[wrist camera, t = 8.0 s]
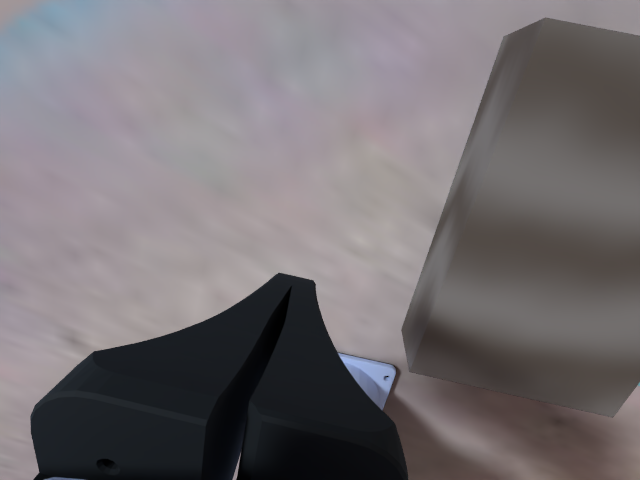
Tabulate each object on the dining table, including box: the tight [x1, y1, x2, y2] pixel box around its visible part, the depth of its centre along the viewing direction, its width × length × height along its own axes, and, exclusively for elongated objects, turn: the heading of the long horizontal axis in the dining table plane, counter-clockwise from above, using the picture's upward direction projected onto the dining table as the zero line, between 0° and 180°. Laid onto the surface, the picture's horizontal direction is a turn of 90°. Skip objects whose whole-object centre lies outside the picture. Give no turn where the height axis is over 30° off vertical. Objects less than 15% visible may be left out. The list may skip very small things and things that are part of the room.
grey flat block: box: [402, 18, 640, 417], centre depth 18 cm, size 18×12×4 cm, turn 169°
